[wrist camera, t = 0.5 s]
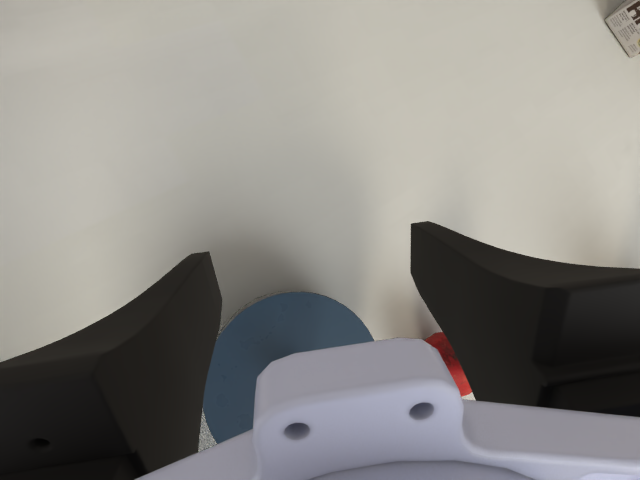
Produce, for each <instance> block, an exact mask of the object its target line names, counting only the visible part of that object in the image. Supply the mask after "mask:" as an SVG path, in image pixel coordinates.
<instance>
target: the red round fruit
mask: <svg viewBox="0 0 640 480" xmlns="http://www.w3.org/2000/svg"><path fill="white" fill-rule="evenodd" d="M425 342H427V343H428V344H430V345H431V346H433V347H434V348H436V349H437V350H438V352H439V354H440V355H441V357H442V359H443V361H444V363H445V365H446V367H447V368H448V370H449V372H450V374H451V376H452V378H453V380H454V381H455V383H456V385H457V387H458V389H459V391H460V395H461V396H465V395H468V394H470V393H471V392H472V390H471V388H470V385H469V383H468V381H467V378H466V376H465V374H464V372H463V370H462V367H461V365H460V363H459V361H458V359H457V357H456V355H455V352H454V350H453V348H452V347H451V345H450V343H449V341H448V339H447V338H446V336H445V334H444V333H443V332H439V333H435V334H433V335H432V336H430V337H429V338H427V339H426V340H425Z"/></svg>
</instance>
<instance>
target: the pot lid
mask: <svg viewBox="0 0 640 480" xmlns="http://www.w3.org/2000/svg"><path fill="white" fill-rule="evenodd" d="M373 341H374V339H373V338H372V336H371V334H370V332H369V330H368V329H367V327H366V326H365V325H364V323H363V322H362V321H361V320H360V319H359V318H358V317H357V316H356V315H355V313H353V312H352V311H351V310H350V309H348V308H347V307H346V306H344V305H343V304H341V303H339V302H338V301H336V300H334V299H331V298H329V297H326V296H323V295H319V294H316V293H310V292H286V293H279V294H276V295H272V296H269V297H266V298H264V299H261V300H259V301H257V302H255V303H253V304H252V305H250V306H248V307H247V308H245V309H244V310H243V311H241V312H240V313H239V314H238V315H236V316H235V317H234V318H233V319H232V320H231V321H230V322H229V323H228V324H227V326H226V327H225V328H224V329H223V331H222V332H221V333H220V335H219V336H218V338H217V340H216V343H215V347H214V351H213V355H212V359H211V363H210V367H209V371H208V375H207V380H206V385H205V391H204V399H203V411H204V415H205V419H206V422H207V425H208V427H209V430H210V432H211V434H212V436H213V438H214V439H215V441H216V443H217V444H219V443H221V442H223V441H226V440H228V439H230V438H233V437H235V436H237V435H240V434H242V433H244V432H247V431H249V430H251V429H253V419H254V403H255V391H256V382H257V377H258V376H259V375H260V373H261V372H262V371H263V370H264V369H265V368H266V367H267V366H268V365H269V364H270V363H271V362H272V361H275V360H278V359H280V358H283V357H286V356H289V355H291V354H294V353H300V352H307V351H313V350H320V349H326V348H333V347H340V346H346V345H353V344H359V343H366V342H373Z"/></svg>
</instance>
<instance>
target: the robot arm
mask: <svg viewBox="0 0 640 480" xmlns="http://www.w3.org/2000/svg"><path fill="white" fill-rule="evenodd" d="M411 275H412V277H413V280H414V282H415V285H416V287H417V289H418V291H419V294H420V295H421V297H422V299H423V300H424V302H425V304H426V305H427V307H428V309H429V310H430V312H431V314H432V315H433V317H434V318H435V320H436V322H437V323H438V325H439V326H440V328H441V330H442V331H443V333H444V334H445V336H446V338H447V339H448V341H449V343H450V345H451V347H452V348H453V350H454V352H455V355H456V357H457V359H458V361H459V363H460V365H461V367H462V370H463V372H464V374H465V376H466V378H467V381H468V383H469V385H470V388H471V390H472V392H473V394H474V397H475V399H476V401H474V400H464V399H462V398H461V395H460V391H459V389H458V387H457V385H456V383H455V381H454V380H453V378H452V376H451V374H450V372H449V370H448V368H447V367H446V365H445V363H444V361H443V359H442V357H441V355H440V354H439V352H438V350H437V349H436V348H434V347H433V346H431V345H430V344H428V343H427V342H425V341H423V340H422V339H413V338H392V339H386V340H379V341H373V342H366V343H359V344H353V345H346V346H340V347H333V348H326V349H320V350H313V351H307V352H300V353H294V354H291V355H289V356H286V357H283V358H280V359H278V360H275V361H272V362H271V363H270V364H269V365H268V366H267V367H266V368H265V369H264V370H263V371H262V372H261V373H260V375H259V376H258V377H257V382H256V391H255V403H254V419H253V429H251V430H249V431H247V432H244V433H242V434H240V435H237V436H235V437H233V438H230V439H228V440H226V441H223V442H221V443H219V444H216V445H214V446H212V447H209V448H207V449H205V450H202V451H200V452H198V445H199V435H200V425H201V416H202V407H203V399H204V391H205V385H206V380H207V375H208V371H209V367H210V363H211V359H212V355H213V351H214V347H215V343H216V339H217V334H218V330H219V326H220V319H221V308H222V297H221V293H220V290H219V286H218V282H217V278H216V275H215V271H214V267H213V264H212V260H211V256H210V253H209V252H202V253H194V254H191V255H189V256H188V257H186V258H185V259H184V260H183V261H181V262H180V263H179V264H178V265H177V266H175V267H174V268H173V269H172V270H171V271H169V272H168V273H167V274H166V275H165V276H163V277H162V278H161V279H160V280H159V281H157V282H156V283H155V284H154V285H152V286H151V287H150V288H148V289H147V290H146V291H144V292H143V293H142V294H140V295H139V296H138V297H136V298H135V299H134V300H132V301H131V302H129V303H128V304H126V305H125V306H123V307H121V308H120V309H118V310H117V311H115V312H113V313H112V314H110V315H108V316H107V317H105V318H103V319H101V320H99V321H97V322H95V323H93V324H92V325H90V326H88V327H86V328H84V329H82V330H80V331H78V332H76V333H74V334H72V335H69V336H67V337H65V338H63V339H61V340H58V341H56V342H53V343H51V344H49V345H46V346H44V347H41V348H39V349H36V350H34V351H31V352H28V353H25V354H22V355H20V356H17V357H14V358H11V359H9V360H6V361H3V362H0V480H640V269H634V268H613V267H596V266H586V265H577V264H569V263H562V262H555V261H550V260H544V259H539V258H534V257H529V256H525V255H521V254H517V253H514V252H510V251H506V250H503V249H500V248H496V247H494V246H491V245H488V244H485V243H482V242H479V241H477V240H474V239H472V238H469V237H467V236H464V235H462V234H459V233H457V232H455V231H452V230H450V229H448V228H445V227H443V226H440V225H438V224H435V223H432V222H429V221H426V222H419V223H412V224H411Z"/></svg>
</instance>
